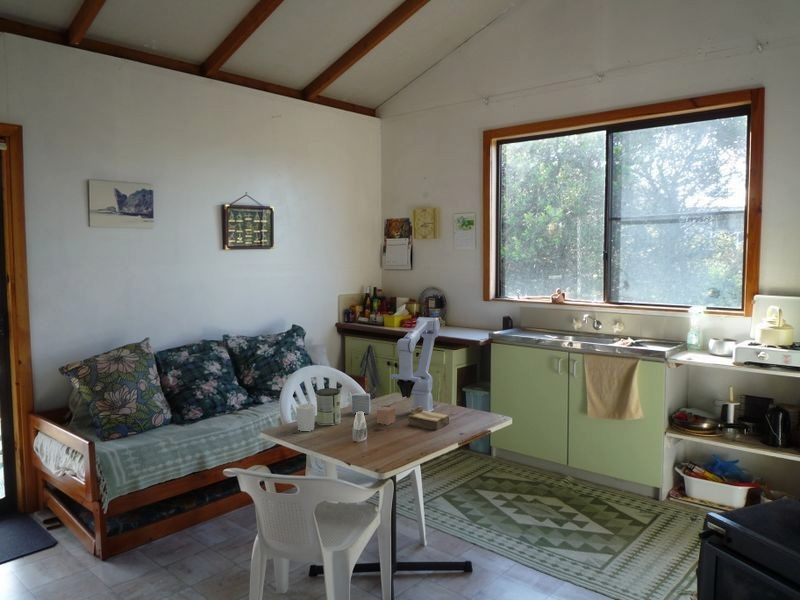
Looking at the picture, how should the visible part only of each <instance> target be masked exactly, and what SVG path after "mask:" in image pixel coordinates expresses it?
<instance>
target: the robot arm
mask: <svg viewBox="0 0 800 600" xmlns="http://www.w3.org/2000/svg"><path fill="white" fill-rule="evenodd" d="M440 328H441V324H440V319H439V318H438V317H422V316H419V317H418V318H417V319H416V324H415V326H414V328H413V329H409V331H408V332H407V334H405V336H404V337H403V338H400V339H398V341H397V342H396V350H397V355H398V358H399V361H398V362H399V364H398V365H399V371H398V373H399V374H395V373H393V374H391V375H390V376H391V378H390V380H397V381H396V385H397V386H398V388H399V390H400V394H401V397H402V398H405V397H406V398H407V399H410V398H411V395H412V409H413V408H416V407H418V406H423V411H429V412H434V411H435V409H434V408H433V394H432V390H433V382H434V381H433V376H432V375H431V374H430V373H429V368H430V365H431V360H432V355H433V349H434V345H435V339H436V338H438V337H439V333H440ZM421 337H422V338H423V343H422V346H421V347H422V348H421V351H420V357H419V361H418V366H417V370H416V371H414V372H413V366H414V365H413V353H414V352H415V348H416V344H417V343H418V341H419V340H420V339H421ZM408 413H411V410H409V412H408Z"/></svg>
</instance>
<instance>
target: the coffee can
mask: <svg viewBox="0 0 800 600" xmlns="http://www.w3.org/2000/svg"><path fill="white" fill-rule="evenodd" d="M315 393H316V394H315V395H316V416H317V417H316V420H317V421H316V423H318V424H317V425H318V426H322V425H332V426H336V425H335V424H337V425H339V424H341V423H342V421H341V419H342V418H341V389H339V388H334V387H327V388H320V389H317V390H315Z"/></svg>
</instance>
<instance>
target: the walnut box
mask: <svg viewBox="0 0 800 600" xmlns="http://www.w3.org/2000/svg"><path fill="white" fill-rule="evenodd" d="M448 424H449V425H450V416H449V417H446V418H444V419H442V420H440V421H437V422H435V421H429V420H423V419H418V418H412V417H409V416H408V425H409V426H414V427H419V428H424V429H429V430H433V429H435V430H434V431H438V430H440V429H442V428H445V427H446V425H447V426H449V425H448ZM439 428H440V429H439ZM437 429H438V430H437Z"/></svg>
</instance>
